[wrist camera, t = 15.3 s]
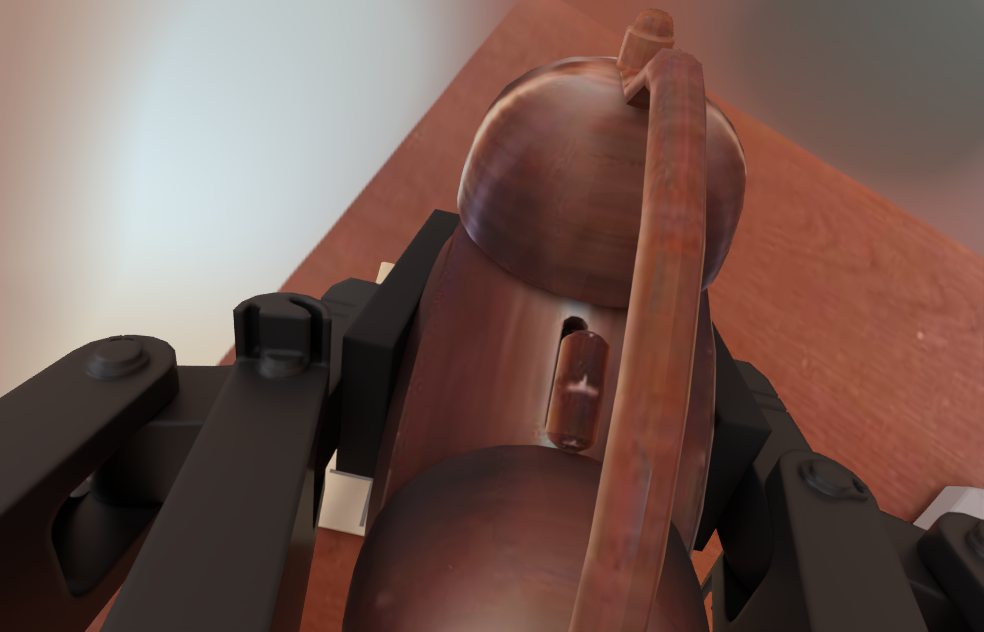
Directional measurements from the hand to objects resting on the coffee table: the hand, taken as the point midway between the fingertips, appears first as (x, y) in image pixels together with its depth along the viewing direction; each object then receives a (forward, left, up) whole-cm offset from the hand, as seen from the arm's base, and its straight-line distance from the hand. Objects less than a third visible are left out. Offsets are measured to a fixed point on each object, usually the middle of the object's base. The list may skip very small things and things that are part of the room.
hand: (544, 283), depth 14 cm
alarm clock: (0, -4, -5) cm, 7 cm away
